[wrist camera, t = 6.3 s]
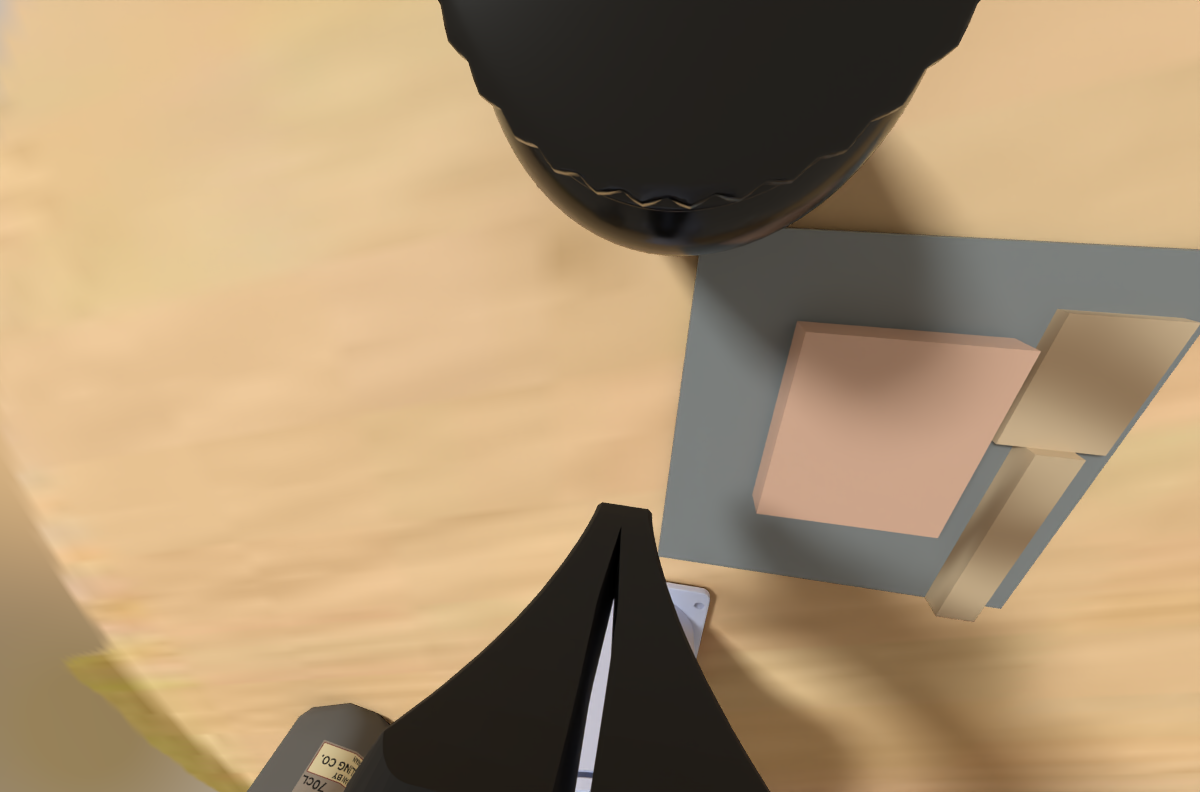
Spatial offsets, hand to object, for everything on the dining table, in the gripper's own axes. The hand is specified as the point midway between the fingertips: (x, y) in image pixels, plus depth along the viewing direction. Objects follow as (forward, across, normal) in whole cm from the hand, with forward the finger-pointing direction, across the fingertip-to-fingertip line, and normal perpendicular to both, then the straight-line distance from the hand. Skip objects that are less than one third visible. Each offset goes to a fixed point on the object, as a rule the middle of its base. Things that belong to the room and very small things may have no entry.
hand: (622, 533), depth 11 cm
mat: (+8, -10, +1) cm, 12 cm away
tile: (+7, -5, 0) cm, 9 cm away
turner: (+8, -15, +2) cm, 17 cm away
